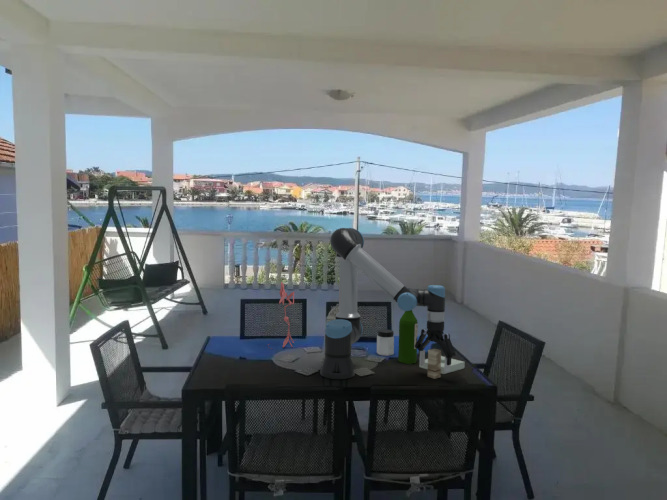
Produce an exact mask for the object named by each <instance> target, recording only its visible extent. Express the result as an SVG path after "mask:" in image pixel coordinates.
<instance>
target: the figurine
mask: <svg viewBox="0 0 667 500" xmlns="http://www.w3.org/2000/svg"><path fill="white" fill-rule="evenodd" d="M279 297H280V299H279V302H278V305H281V304H282V305H283V306H284V304H285V298H286V301H288V304H287V305H285V306H284V317H283V321H284V322H286V324H287V325H288V326H291V325H290V324H291V323H290V321H289V319H290V318H289V317H288V316H286V315H287V312H286V308H287V307H288V306H290V307H291V306H292V305H295V291H292V292H291V293H289V294H288V292H286V290H285V283H283V282H282V281H281V282H280V290H279ZM291 298H292V301H291V300H290V299H291ZM287 328H288V329H287V335H286V337H285V339H284V340H283V344H282V348H285V347H286V345H287V344H288V343H289V345H290V346H291V348H292V347H293V343H294V344H295V342H294V341H296V340H293V338H292V336H291V333H290V327H287ZM289 339H290V340H289ZM291 342H292V343H291ZM269 345H270V343H269V344H267V347H268V349H271V350H272V348H270V347H269Z"/></svg>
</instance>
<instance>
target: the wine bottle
mask: <svg viewBox="0 0 667 500" xmlns="http://www.w3.org/2000/svg"><path fill="white" fill-rule="evenodd" d="M398 324H399V325H398V353H397V354H398V357H397V360H398V363H401V364H406V365H408V364H409V365H412V364H413V363H414V364H416V363H417V360H418V359H417V357H418V349H417V348H415V346H416V343H417V341H418V332H419V331H418V329H419V328H418V327H419V325H418V324H419V323H418V319H417V317H416V315H415V314H414V311H413V309H412V310H410V311H404V313H403V314H402V315H401V317H400V318H399V322H398Z"/></svg>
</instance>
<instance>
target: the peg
mask: <svg viewBox="0 0 667 500" xmlns="http://www.w3.org/2000/svg"><path fill="white" fill-rule="evenodd" d="M441 356H442V349H437V348H429V349H428V350H427V359H428V369H426V371H427V373H426V374H427V377H428V378H431V379H434V380H436V379H438V378H441Z"/></svg>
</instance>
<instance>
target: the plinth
mask: <svg viewBox="0 0 667 500" xmlns="http://www.w3.org/2000/svg"><path fill="white" fill-rule="evenodd" d="M445 357H446V356H445V355H444V356H443V355H441V374H442V375H445V374H449V373H452V372H453V373H454V372H457V371H459V370H463V369H465V368H466V367H465V366H466V363H465V361H462V360H458V359H454V358H451V365H450V372H447V373H444V365H445ZM418 364H420V362H419V363H418ZM418 366H419V368H421V369H424V370H427V369H428V358H425V365H422V366H420V365H418ZM441 374H440V375H441Z"/></svg>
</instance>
